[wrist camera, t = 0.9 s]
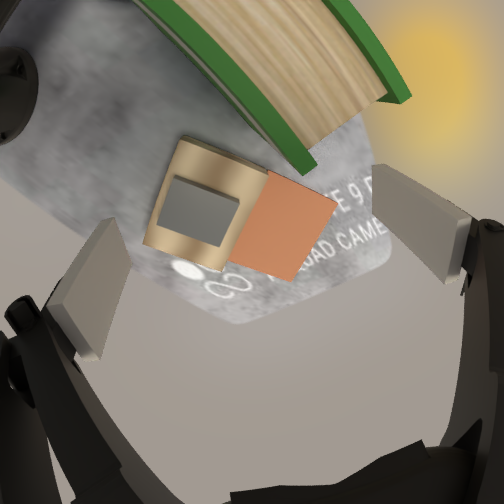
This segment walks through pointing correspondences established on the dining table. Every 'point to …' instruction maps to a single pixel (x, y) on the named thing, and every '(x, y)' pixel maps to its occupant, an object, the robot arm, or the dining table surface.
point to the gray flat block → (197, 211)
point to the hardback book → (284, 64)
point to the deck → (218, 178)
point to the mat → (282, 228)
